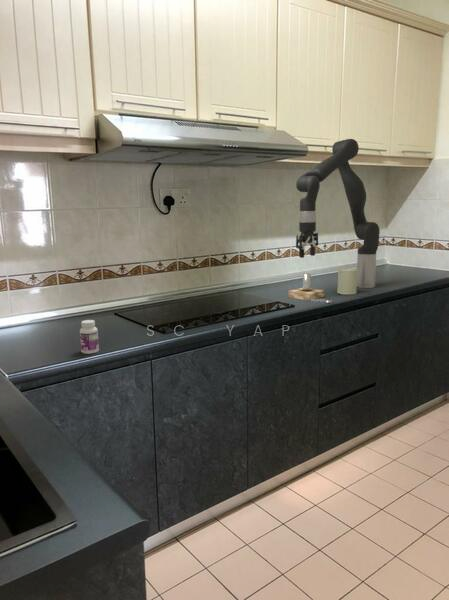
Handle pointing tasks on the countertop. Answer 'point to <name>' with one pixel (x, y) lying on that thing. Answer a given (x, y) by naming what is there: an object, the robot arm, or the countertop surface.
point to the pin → (306, 282)
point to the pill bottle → (89, 337)
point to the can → (347, 281)
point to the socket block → (306, 294)
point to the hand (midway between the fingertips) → (307, 256)
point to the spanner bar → (320, 300)
